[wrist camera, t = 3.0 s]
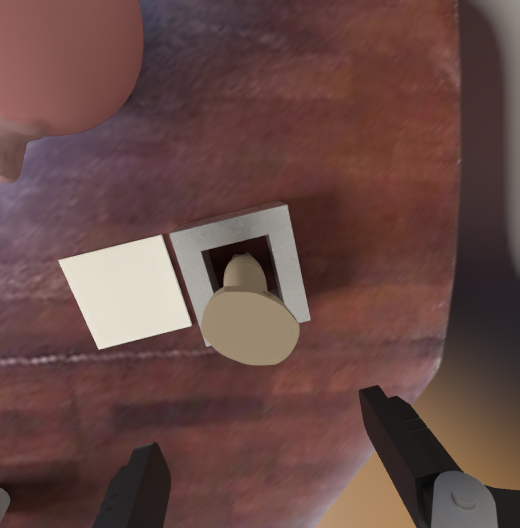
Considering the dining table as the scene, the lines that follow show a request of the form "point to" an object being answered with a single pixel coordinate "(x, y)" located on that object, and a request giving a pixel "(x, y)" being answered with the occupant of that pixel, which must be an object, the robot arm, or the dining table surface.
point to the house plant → (3, 502)
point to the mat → (127, 291)
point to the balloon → (63, 69)
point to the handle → (249, 317)
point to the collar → (235, 230)
